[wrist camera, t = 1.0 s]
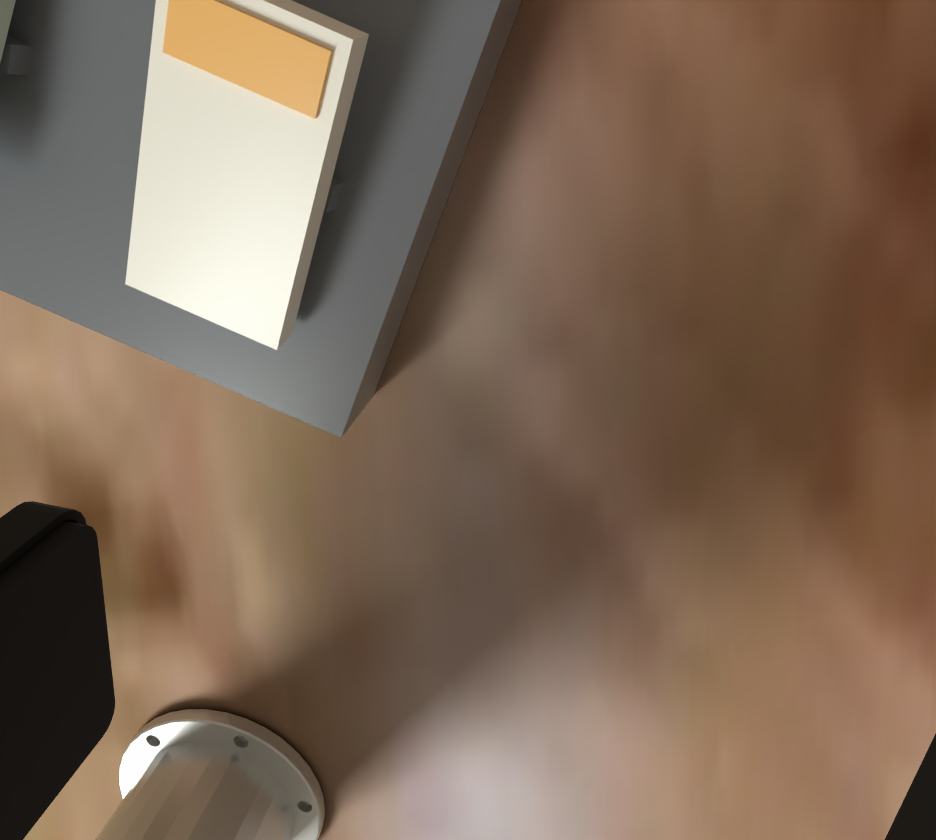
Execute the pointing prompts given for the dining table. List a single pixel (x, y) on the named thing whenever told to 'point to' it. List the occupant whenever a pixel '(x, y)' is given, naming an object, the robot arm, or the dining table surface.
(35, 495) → the dining table surface
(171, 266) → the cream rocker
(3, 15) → the sage rocker
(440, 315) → the dining table surface
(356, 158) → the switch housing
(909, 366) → the dining table surface
